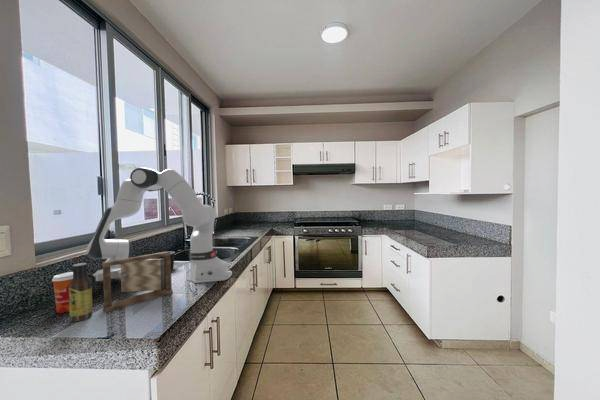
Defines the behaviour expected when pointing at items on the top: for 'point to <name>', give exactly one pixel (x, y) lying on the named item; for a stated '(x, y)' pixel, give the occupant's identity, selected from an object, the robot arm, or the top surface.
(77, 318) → the sauce bottle
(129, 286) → the birch door
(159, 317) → the top surface
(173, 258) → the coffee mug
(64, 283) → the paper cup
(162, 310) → the top surface
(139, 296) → the brown wooden frame
